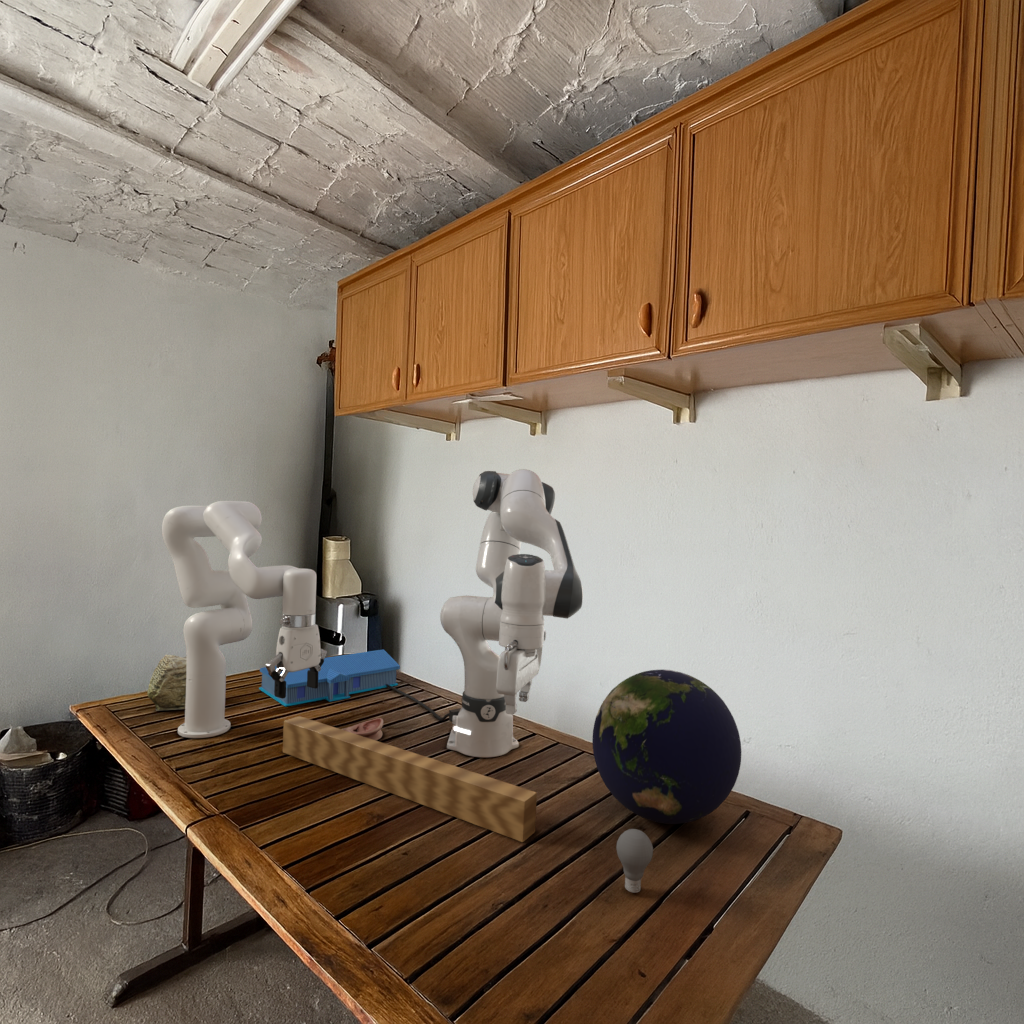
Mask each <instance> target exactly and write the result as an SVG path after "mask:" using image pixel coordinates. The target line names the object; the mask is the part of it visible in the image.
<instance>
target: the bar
mask: <svg viewBox="0 0 1024 1024" xmlns="http://www.w3.org/2000/svg"><path fill="white" fill-rule="evenodd" d="M341 729H342V728H338V727H335V726H331V725H329V724H326V723H322V722H320V721H316V720H313V719H311V718H307V717H303V716H301V715H297V716H294V717H292V718H289V719H285V720H283V730H282V753H283V754H286V755H288V756H291V757H294V758H296V759H299V760H302V761H305V762H308V763H309V764H312V765H315V766H318V767H320V768H323V769H326V770H329V771H330V772H334V773H337V774H340V775H342V776H344V777H348V778H350V779H352V780H355V781H358V782H360V783H363V784H366V785H369V786H372V787H373V788H376V789H379V790H382V791H384V792H387V793H389V794H393V795H395V796H398V797H401V798H403V799H406V800H409V801H411V802H414V803H417V804H420V805H422V806H424V807H426V808H430V809H432V810H435V811H438V812H441V813H443V814H445V815H449V816H451V817H454V818H456V819H459V820H462V821H465V822H467V823H470V824H473V825H475V826H478V827H481V828H483V829H486V830H489V831H491V832H494V833H497V834H499V835H501V836H504V837H508V838H509V839H513V840H515V841H517V842H519V843H520V842H521V843H523V842H525V841H526V840H528V839H529V838H530V837H531V836H532V835H533V834H535V833H536V824H537V823H536V821H537V820H536V819H537V801H538V799H537V798H538V791H534V790H531V789H528V788H525V787H521V786H518V785H515V784H511V783H509V782H506V781H502V780H500V779H495V778H493V777H490V776H487V775H485V774H480V773H477V772H475V771H471V770H468V769H465V768H463V767H459V766H455V765H453V764H450V763H446V762H444V761H440V760H437V759H434V758H432V757H429V756H425V755H422V754H419V753H415V752H413V751H409V750H406V749H404V748H400V747H397V746H394V745H392V744H387V743H385V742H382V741H378V740H376V741H375V740H372V739H369V738H366V737H363V736H360V735H357V734H354V733H351V732H348V731H344V730H341Z"/></svg>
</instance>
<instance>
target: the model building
mask: <svg viewBox="0 0 1024 1024" xmlns="http://www.w3.org/2000/svg"><path fill="white" fill-rule="evenodd" d="M400 669H401V665H400V664H399V663H398V662H397V661H396V660H395V659H394V658H393V657H392V656H391V654H389V653H388V652H387V651H386V650H385V649H376V650H368V651H363V652H356V653H349V654H342V655H341V654H340V655H335V656H329V657H328V656H327V657H325V659H324V663H323V664H322V666H321V670H320V671H319V672H318V688H316V689H315V688H311V687H308V686H307V672H308V670H310V669H309V668H307V669H304V670H300V671H296V672H288V674H287V676H286V677H285V679H284V681H286V697H285V698H283V699H282V698H279V697H275V695H274V686H275V680H273V679H272V677H271V676H270V675H269V674H268V673H269V672H268V671H267V668H266V666H264V667H263V666H262V667H260V668H259V672H260V673H261V686H260V687H258V690H260V691H261V692H262V693H264V694H265V695H267V696H268V697H270V698H271V699H273V700H274V701H276V702H277V703H279V704H280V705H282V706H283V707H290V706H297V705H302V704H307V703H312V702H317V701H323V700H325V701H327V702H329V703H330V702H335V701H341V700H346V699H347V700H348V699H350V698H351V695H353V694H359V693H364V692H365V693H366V692H369V691H373V690H381V689H385V688H388V687H387V686H386V684H388V685H390V686H392V687H395V686H399V683H398V682H397V670H400ZM275 670H277V668H276V666H275ZM282 672H283V671H282ZM282 672H281V673H280V675H281V674H282Z"/></svg>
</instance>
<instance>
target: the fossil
mask: <svg viewBox="0 0 1024 1024" xmlns="http://www.w3.org/2000/svg"><path fill="white" fill-rule="evenodd" d="M186 667H187V656H183V657H182V656H178V655H175V654H174V655H173V654H165V655H164V656H163V657H162V658H161V659H160V660H159V662H158V663H157V666H156V667H155V669H154V670H153V672H152V675H151V677H150V680H149V684H148V688H147V697H148V699H149V700H150V701H152V703H153V704H154V706H155V711H158V712H159V711H162V712H163V711H177V710H185V701H186Z"/></svg>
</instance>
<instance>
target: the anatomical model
mask: <svg viewBox="0 0 1024 1024" xmlns="http://www.w3.org/2000/svg"><path fill="white" fill-rule="evenodd" d="M383 727H384V719H383V718H382V717H378V718H373V719H369V720H365V721H363V722H359V723H357V724H354V725H351V726H347V727H344V728H340V729H341V730H344V731H348V732H351V733H354V734H357V735H360V736H363V737H366V738H369V739H372V740H375V741H378V740H380V739H381V738H382V737H383V731H382V730H381V729H382V728H383Z"/></svg>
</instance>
